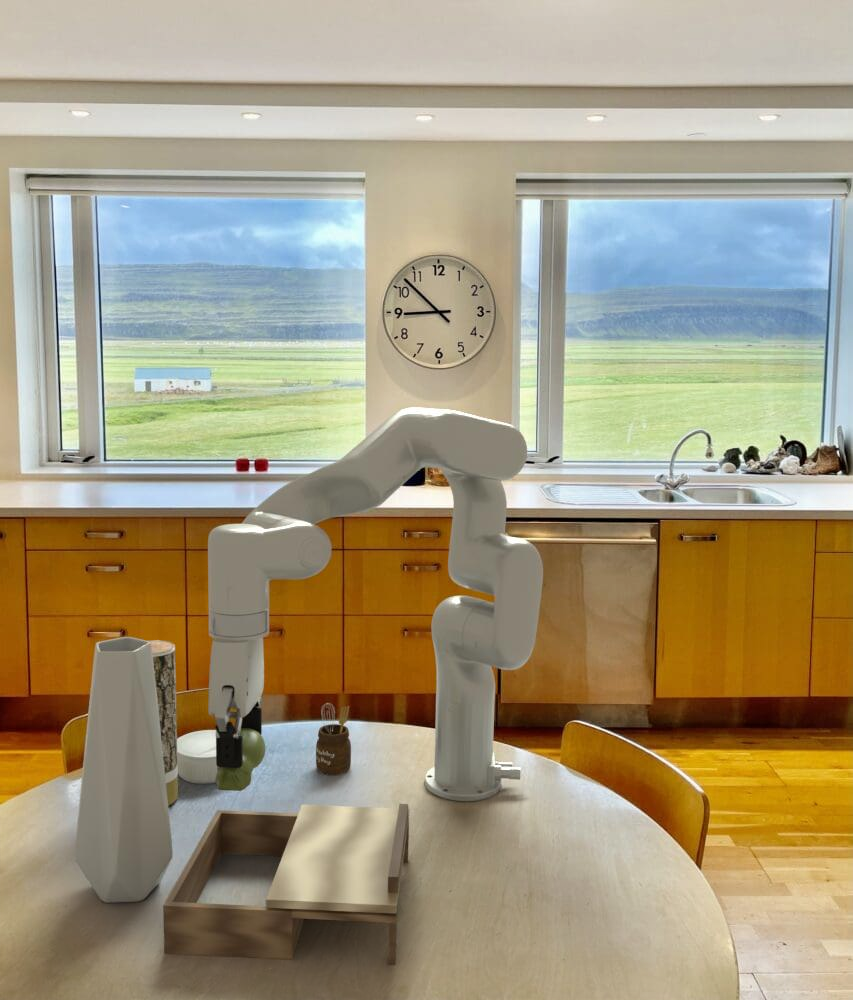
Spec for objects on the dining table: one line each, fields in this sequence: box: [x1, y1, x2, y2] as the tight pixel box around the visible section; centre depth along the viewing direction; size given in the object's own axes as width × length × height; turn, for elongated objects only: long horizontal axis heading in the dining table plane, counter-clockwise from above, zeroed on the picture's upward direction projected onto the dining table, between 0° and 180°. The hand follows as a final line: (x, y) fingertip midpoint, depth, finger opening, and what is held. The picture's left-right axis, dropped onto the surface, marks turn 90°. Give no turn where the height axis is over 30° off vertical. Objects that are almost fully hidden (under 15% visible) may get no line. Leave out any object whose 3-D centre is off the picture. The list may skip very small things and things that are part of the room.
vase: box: [74, 636, 174, 904], centre depth 117 cm, size 12×12×33 cm
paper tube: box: [148, 639, 179, 807], centre depth 142 cm, size 7×7×25 cm
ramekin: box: [177, 729, 217, 785], centre depth 154 cm, size 11×11×5 cm
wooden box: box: [162, 809, 410, 965], centre depth 117 cm, size 27×23×6 cm
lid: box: [265, 803, 410, 914], centre depth 116 cm, size 15×23×3 cm, turn 177°
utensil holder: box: [315, 702, 352, 776], centre depth 155 cm, size 6×6×12 cm
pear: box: [215, 728, 266, 792], centre depth 119 cm, size 6×5×10 cm
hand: (239, 750), depth 119 cm, fingers closed on pear, 9 cm apart
